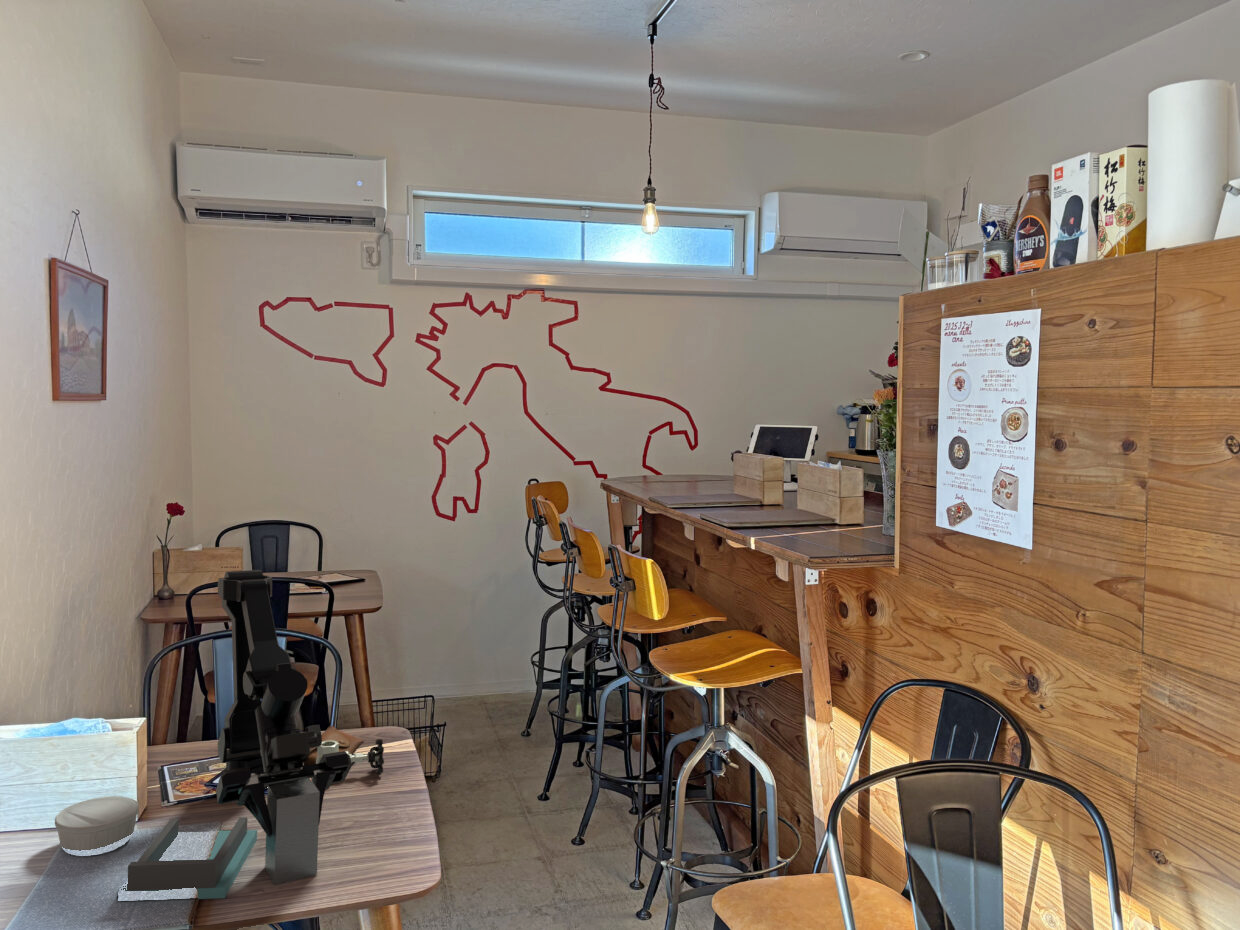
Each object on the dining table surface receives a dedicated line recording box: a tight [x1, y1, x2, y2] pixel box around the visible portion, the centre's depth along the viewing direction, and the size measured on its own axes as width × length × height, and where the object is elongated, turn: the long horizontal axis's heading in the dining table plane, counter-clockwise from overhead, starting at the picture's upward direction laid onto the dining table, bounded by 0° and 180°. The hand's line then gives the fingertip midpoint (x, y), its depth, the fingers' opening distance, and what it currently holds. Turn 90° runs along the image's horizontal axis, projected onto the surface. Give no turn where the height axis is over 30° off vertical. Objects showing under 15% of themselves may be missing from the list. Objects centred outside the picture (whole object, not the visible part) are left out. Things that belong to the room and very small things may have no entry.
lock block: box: [264, 778, 320, 886], centre depth 133 cm, size 6×6×12 cm
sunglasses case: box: [304, 725, 365, 766], centre depth 179 cm, size 18×7×7 cm, turn 4°
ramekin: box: [54, 795, 140, 851], centre depth 139 cm, size 11×11×5 cm
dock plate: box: [117, 816, 258, 900], centre depth 133 cm, size 18×14×5 cm
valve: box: [316, 738, 385, 774], centre depth 169 cm, size 7×7×12 cm
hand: (294, 831), depth 132 cm, fingers closed on lock block, 6 cm apart
